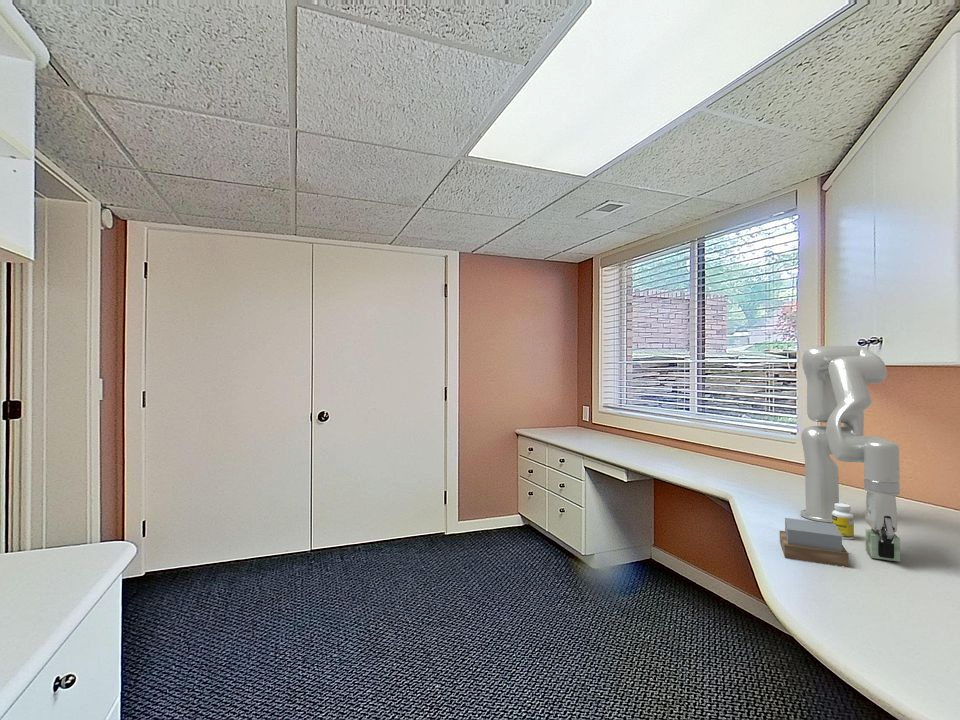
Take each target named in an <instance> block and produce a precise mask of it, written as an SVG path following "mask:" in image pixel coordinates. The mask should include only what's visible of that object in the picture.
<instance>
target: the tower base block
mask: <svg viewBox="0 0 960 720" xmlns="http://www.w3.org/2000/svg"><path fill="white" fill-rule="evenodd" d="M779 545H780V547H781V550H782V553H783V556H784V559H787V560H788V559H789V560H795V561H800V562H801V561H802V562H807V561H808V562H809V563H814V562H815V563H816V564H821V563H822V565H828V564H829V565H830V566H835V565H837V567H842V566H844V567H843V568H849V566H850V563H849V553H848V551H847V549H846V548H845V547H844V545H843V544H842V552H840V551H833V550H826V549H819V548H812V547H805V546H798V545H791V544H788V542H787V538H786V533H785V530H779ZM829 565H828V566H829Z"/></svg>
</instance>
